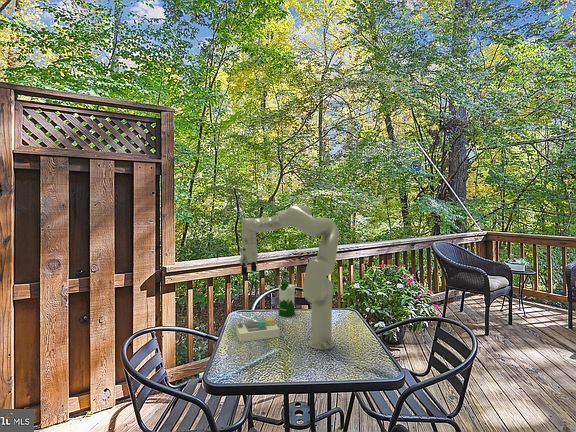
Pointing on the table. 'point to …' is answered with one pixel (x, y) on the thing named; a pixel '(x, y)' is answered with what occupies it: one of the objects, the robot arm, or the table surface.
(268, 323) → the button
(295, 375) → the table surface
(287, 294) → the milk carton
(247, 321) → the slider grey
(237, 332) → the panel
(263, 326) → the slider teal
